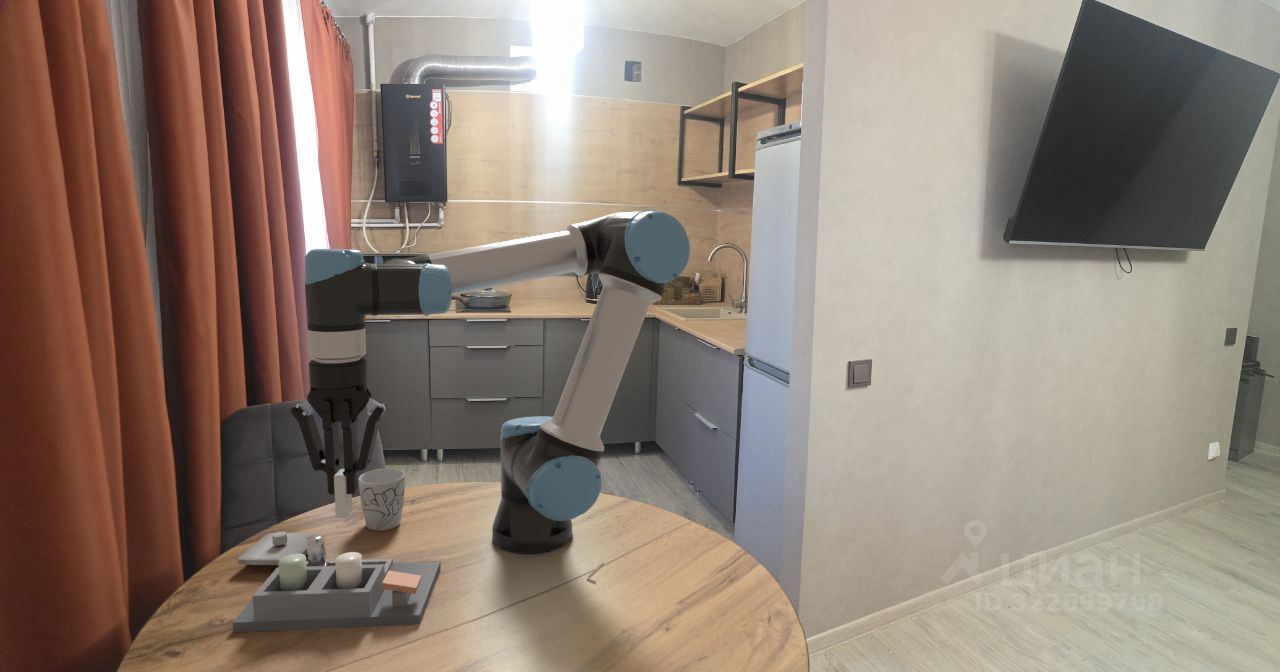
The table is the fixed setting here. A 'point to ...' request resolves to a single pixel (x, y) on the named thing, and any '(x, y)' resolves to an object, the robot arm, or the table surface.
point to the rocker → (401, 582)
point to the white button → (349, 570)
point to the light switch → (275, 548)
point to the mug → (382, 498)
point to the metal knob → (316, 550)
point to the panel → (339, 600)
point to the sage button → (292, 572)
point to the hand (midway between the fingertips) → (344, 513)
